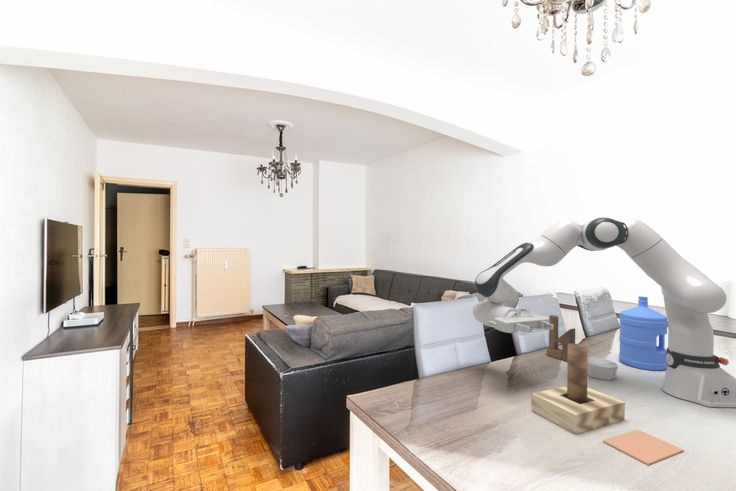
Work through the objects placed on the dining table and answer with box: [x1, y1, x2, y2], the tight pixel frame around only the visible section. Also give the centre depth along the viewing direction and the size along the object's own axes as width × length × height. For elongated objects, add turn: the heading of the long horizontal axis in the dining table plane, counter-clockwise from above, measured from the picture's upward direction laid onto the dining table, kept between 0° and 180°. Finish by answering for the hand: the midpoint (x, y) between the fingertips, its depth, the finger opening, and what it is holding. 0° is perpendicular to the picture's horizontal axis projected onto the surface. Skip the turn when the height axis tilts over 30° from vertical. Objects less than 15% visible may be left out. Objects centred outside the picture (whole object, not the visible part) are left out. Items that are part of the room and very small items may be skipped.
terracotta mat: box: [602, 428, 685, 466], centre depth 85 cm, size 14×10×1 cm
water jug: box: [618, 296, 668, 371], centre depth 145 cm, size 16×16×28 cm
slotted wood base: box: [531, 385, 626, 435], centre depth 101 cm, size 20×14×5 cm
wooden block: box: [546, 314, 576, 363], centre depth 151 cm, size 4×11×18 cm, turn 26°
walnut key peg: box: [566, 343, 589, 404], centre depth 101 cm, size 5×5×20 cm
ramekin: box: [588, 356, 619, 381], centre depth 132 cm, size 11×11×5 cm
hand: (541, 328), depth 112 cm, fingers open, 8 cm apart
